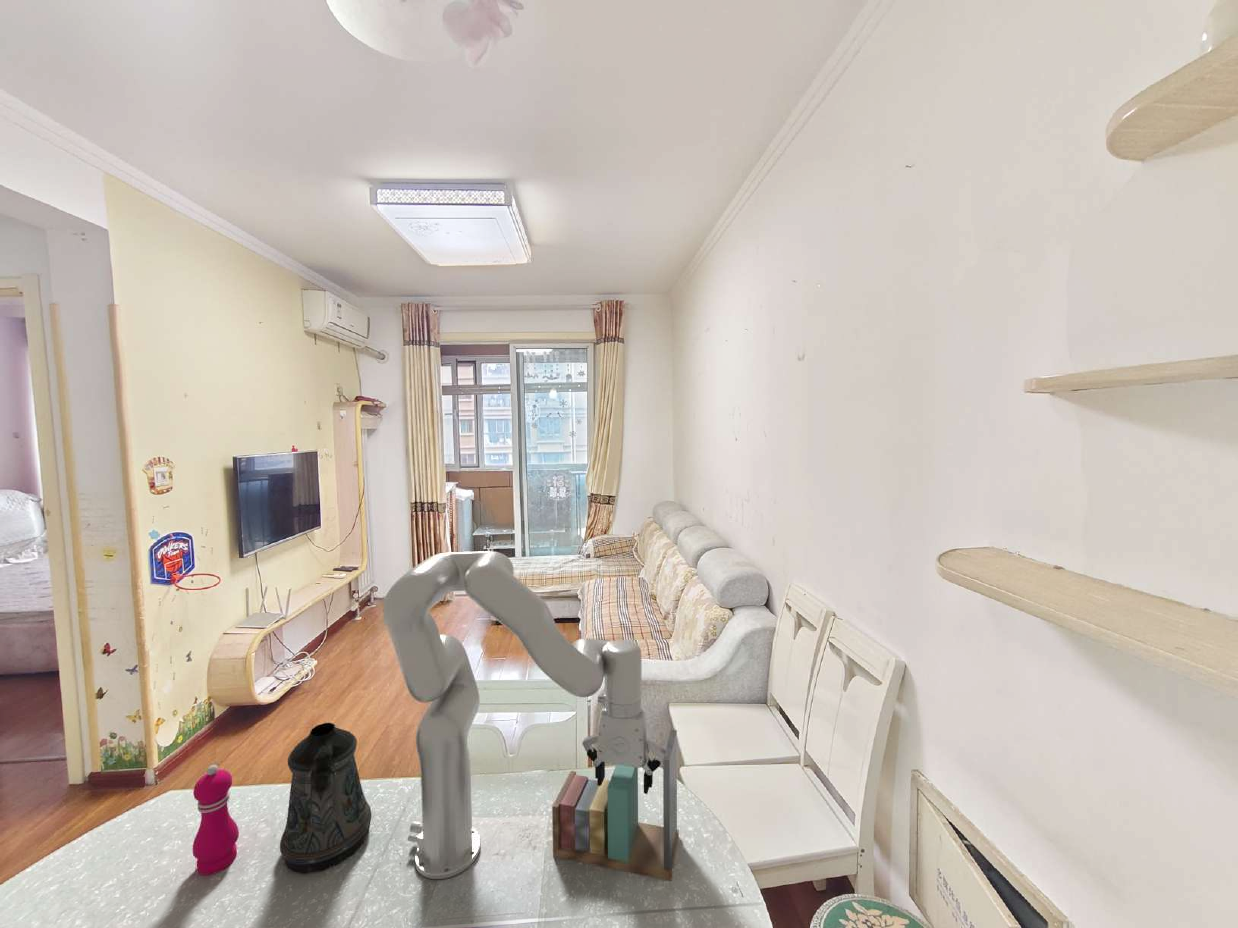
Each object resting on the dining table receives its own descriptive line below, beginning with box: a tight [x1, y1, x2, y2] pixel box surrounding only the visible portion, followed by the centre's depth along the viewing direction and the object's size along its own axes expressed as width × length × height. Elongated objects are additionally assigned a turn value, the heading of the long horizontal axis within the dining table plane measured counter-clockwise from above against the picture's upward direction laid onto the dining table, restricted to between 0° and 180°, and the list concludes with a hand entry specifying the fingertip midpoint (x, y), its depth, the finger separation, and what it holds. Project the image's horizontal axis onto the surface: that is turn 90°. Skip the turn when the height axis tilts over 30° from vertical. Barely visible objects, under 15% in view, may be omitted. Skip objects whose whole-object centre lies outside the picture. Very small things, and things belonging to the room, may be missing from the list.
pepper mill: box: [192, 764, 240, 876], centre depth 100 cm, size 7×7×20 cm
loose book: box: [607, 764, 639, 862], centre depth 103 cm, size 4×10×14 cm, turn 166°
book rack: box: [551, 770, 680, 882], centre depth 103 cm, size 24×11×10 cm, turn 76°
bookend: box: [662, 728, 678, 870], centre depth 100 cm, size 1×10×22 cm, turn 166°
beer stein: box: [279, 722, 372, 875], centre depth 104 cm, size 16×19×25 cm
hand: (623, 785), depth 103 cm, fingers open, 9 cm apart
